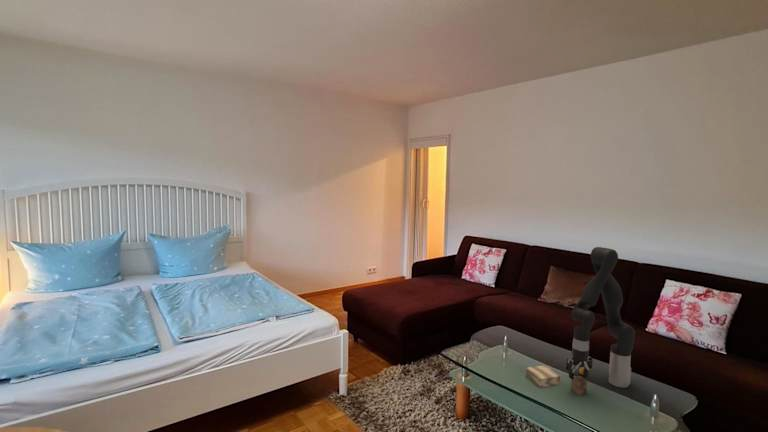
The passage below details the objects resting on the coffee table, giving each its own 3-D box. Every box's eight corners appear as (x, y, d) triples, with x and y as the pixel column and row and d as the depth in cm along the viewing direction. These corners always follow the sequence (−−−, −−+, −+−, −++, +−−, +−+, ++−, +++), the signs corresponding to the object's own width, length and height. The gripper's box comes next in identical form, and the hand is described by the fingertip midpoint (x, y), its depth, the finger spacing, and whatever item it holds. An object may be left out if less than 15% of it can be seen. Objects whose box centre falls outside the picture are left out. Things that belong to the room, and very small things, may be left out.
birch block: (544, 373, 219) (545, 365, 218) (559, 385, 207) (559, 376, 207) (525, 376, 216) (526, 367, 215) (539, 388, 204) (539, 379, 204)
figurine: (592, 375, 216) (593, 354, 214) (590, 380, 211) (591, 359, 209) (575, 371, 221) (576, 350, 219) (573, 375, 216) (574, 354, 214)
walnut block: (578, 388, 203) (579, 375, 203) (586, 393, 199) (587, 380, 198) (571, 390, 202) (571, 377, 201) (578, 395, 197) (579, 382, 196)
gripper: (586, 342, 203) (584, 372, 205) (563, 345, 199) (561, 375, 201) (598, 348, 196) (595, 379, 198) (574, 352, 192) (572, 383, 194)
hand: (578, 377), depth 200 cm, fingers open, 8 cm apart
